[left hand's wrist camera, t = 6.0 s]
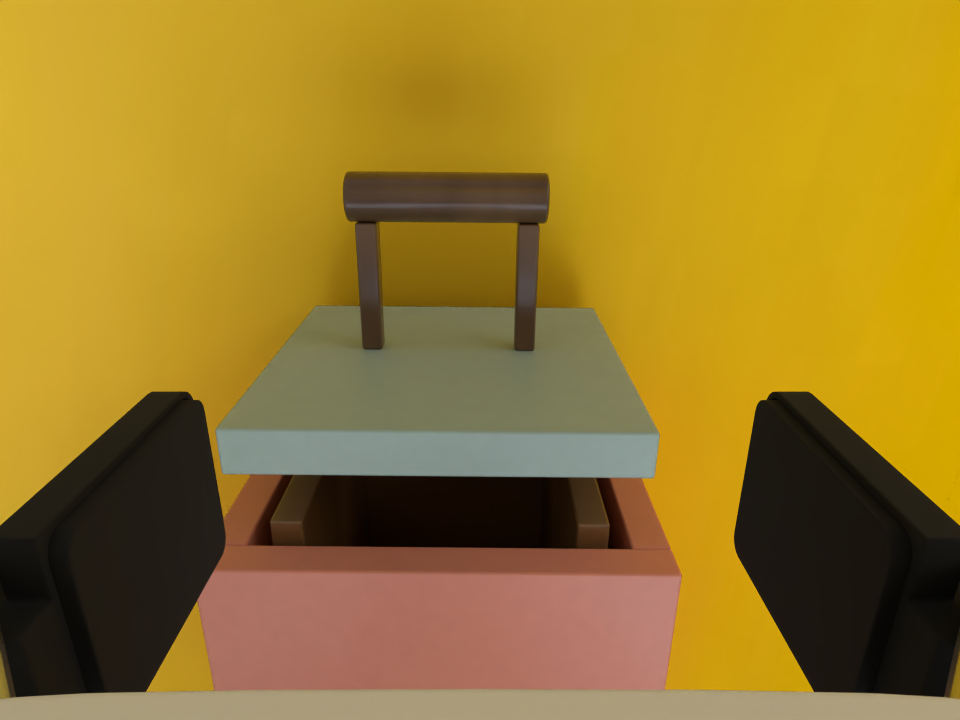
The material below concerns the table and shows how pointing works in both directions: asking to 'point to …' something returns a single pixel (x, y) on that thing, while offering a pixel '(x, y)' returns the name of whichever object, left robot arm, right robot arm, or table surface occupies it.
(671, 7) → the table surface
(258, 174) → the table surface
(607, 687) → the cabinet
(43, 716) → the left robot arm
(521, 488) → the drawer
